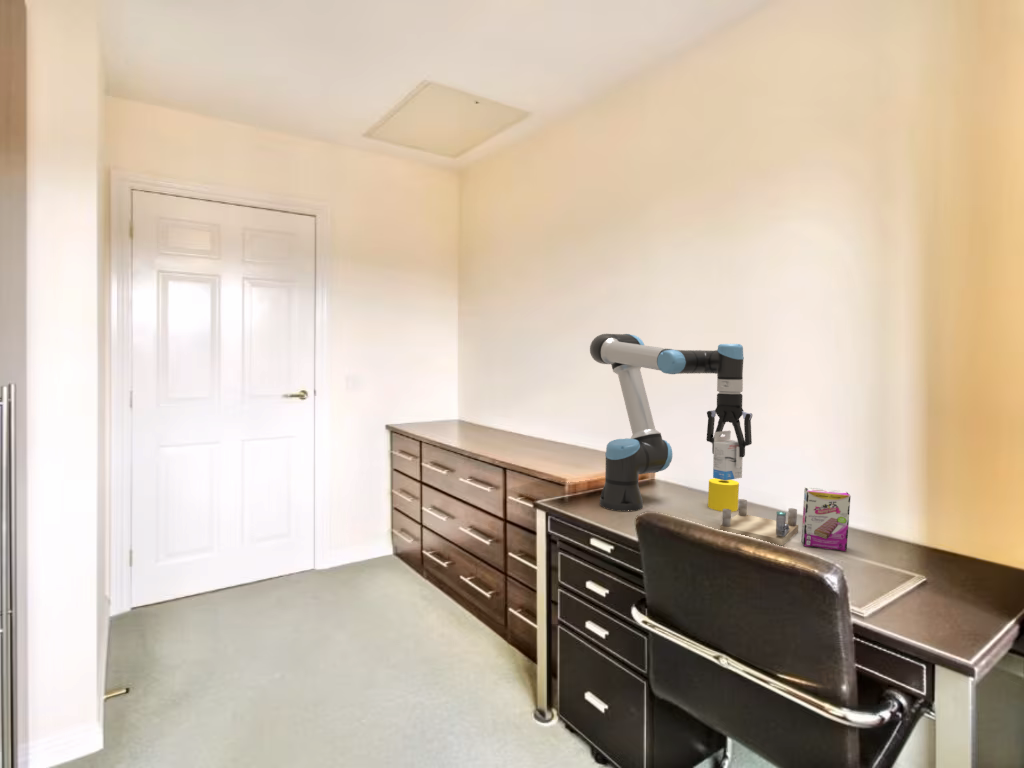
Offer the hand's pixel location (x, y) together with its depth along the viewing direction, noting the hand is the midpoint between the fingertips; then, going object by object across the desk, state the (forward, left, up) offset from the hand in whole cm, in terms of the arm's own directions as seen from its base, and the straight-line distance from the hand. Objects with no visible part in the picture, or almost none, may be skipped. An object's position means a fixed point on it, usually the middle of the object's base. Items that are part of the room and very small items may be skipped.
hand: (728, 465), depth 177 cm
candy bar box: (+28, +1, -20) cm, 34 cm away
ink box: (0, 0, -4) cm, 4 cm away
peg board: (+10, +2, -20) cm, 22 cm away
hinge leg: (+17, -2, -17) cm, 25 cm away
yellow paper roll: (-8, +21, -20) cm, 30 cm away
